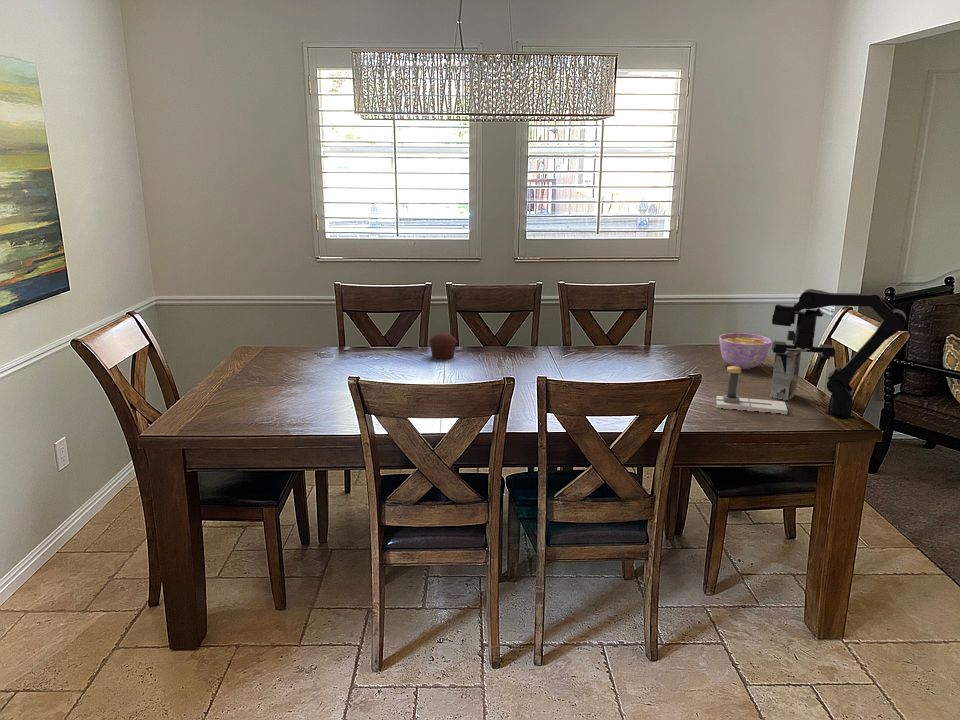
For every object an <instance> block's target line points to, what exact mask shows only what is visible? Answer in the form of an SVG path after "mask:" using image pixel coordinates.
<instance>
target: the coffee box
mask: <svg viewBox="0 0 960 720" xmlns="http://www.w3.org/2000/svg"><path fill="white" fill-rule="evenodd" d="M774 354H775V355H774V364H773V372H772V373H773V374H772V379H771V381H772V382H771V390H770V395H769V396H770V398H772V397H773V399H777V398H778V399H777V400H781V399H783V400H782V401H786V400H788V401H790V400H791V399H792V398H794V395H795V396H796V394H797V387H798V381H799V379H798V378H799V372H800V371H799V370H800V365H801V364H800V363H801V355H802V352H801V351H787V350H786V354H787V367H786V373H784V369H783V364H782V360H781V357H780V356H778V355H777V354H776V353H774ZM789 399H790V400H789Z"/></svg>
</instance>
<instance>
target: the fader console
mask: <svg viewBox="0 0 960 720" xmlns="http://www.w3.org/2000/svg"><path fill="white" fill-rule="evenodd" d="M715 401H716V409H721V408H723V410H724V409H725V410H732V409H737V410H736V411H743V410H747V411H746V412H754V411H759V412H758V413H765V412H771V413H770V414H776V413H781V414H780V415H788V407H787V404H786V402H785V401H780V400H770V399H759V398H758V399H757V398H745V397H739V403H737V402H725V401H723V395H717V396H716V398H715Z"/></svg>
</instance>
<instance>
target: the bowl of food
mask: <svg viewBox="0 0 960 720" xmlns="http://www.w3.org/2000/svg"><path fill="white" fill-rule="evenodd" d="M718 340H719V347H720V353H721V357H722V359H723V360H724V362H725V363H727V364H729V366H736V367H740V368H741V370H751V369H750V368H752V369H753V368H757V367H758V366H760V365H762V364H763V363H764V362H765V360H766V358H767V355H768V353H769V350H770V349H771V346H772V343H773V341H772V339H771V338H769V337H767V336H763V335H759V334H754V333H753V334H752V333H744V332H743V333H742V332H741V333H740V332H737V333H736V332H733V333H732V332H730V333H724V334H719V336H718Z"/></svg>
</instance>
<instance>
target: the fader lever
mask: <svg viewBox="0 0 960 720" xmlns="http://www.w3.org/2000/svg"><path fill="white" fill-rule="evenodd" d="M726 368H727V369H726V370H727V372H728V381H727V391H726V394H723V395H722V396H723V401H725V402H737V403H739V398H740V396H739V395H737V391H738V383H739V374H740V373H742V369H741V368H740V367H736V366H732V365H729V366H727V367H726Z"/></svg>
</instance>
